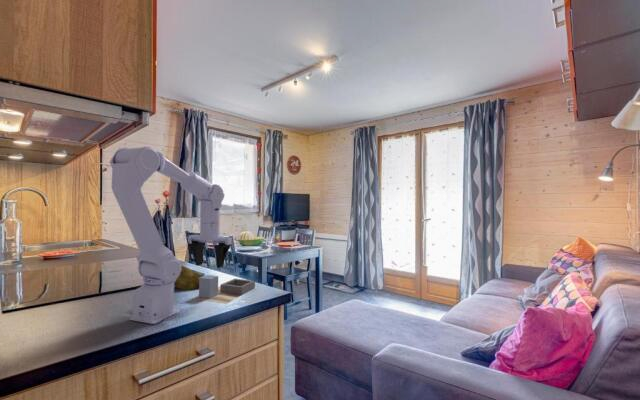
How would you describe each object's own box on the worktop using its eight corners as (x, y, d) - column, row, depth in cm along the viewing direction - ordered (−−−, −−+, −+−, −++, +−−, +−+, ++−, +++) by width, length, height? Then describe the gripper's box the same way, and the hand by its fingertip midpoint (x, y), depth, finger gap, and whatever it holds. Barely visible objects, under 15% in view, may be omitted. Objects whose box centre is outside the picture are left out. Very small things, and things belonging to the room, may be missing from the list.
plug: (209, 298, 97) (210, 279, 97) (198, 297, 98) (199, 277, 98) (218, 294, 101) (219, 275, 101) (208, 293, 102) (208, 274, 102)
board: (226, 305, 93) (226, 303, 93) (191, 300, 97) (191, 298, 97) (255, 289, 110) (255, 287, 110) (225, 285, 114) (225, 283, 114)
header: (241, 295, 101) (242, 287, 101) (220, 292, 104) (220, 284, 104) (255, 288, 110) (255, 280, 110) (234, 285, 112) (234, 278, 112)
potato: (196, 294, 103) (196, 269, 103) (159, 291, 105) (160, 267, 105) (208, 287, 111) (209, 264, 111) (174, 284, 113) (175, 262, 113)
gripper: (237, 222, 101) (236, 265, 101) (198, 220, 105) (198, 261, 105) (224, 224, 94) (223, 270, 95) (183, 222, 98) (183, 266, 99)
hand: (209, 266), depth 100 cm, fingers open, 7 cm apart
